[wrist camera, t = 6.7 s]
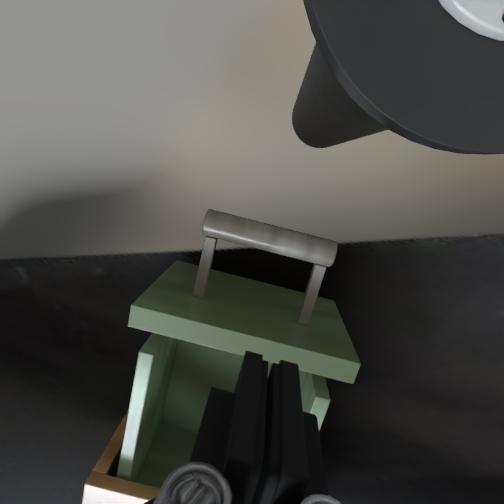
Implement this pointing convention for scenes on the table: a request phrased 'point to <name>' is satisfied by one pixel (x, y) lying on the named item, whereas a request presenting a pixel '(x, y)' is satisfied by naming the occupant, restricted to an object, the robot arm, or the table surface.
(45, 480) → the table surface
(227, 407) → the robot arm
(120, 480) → the cabinet
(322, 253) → the drawer
